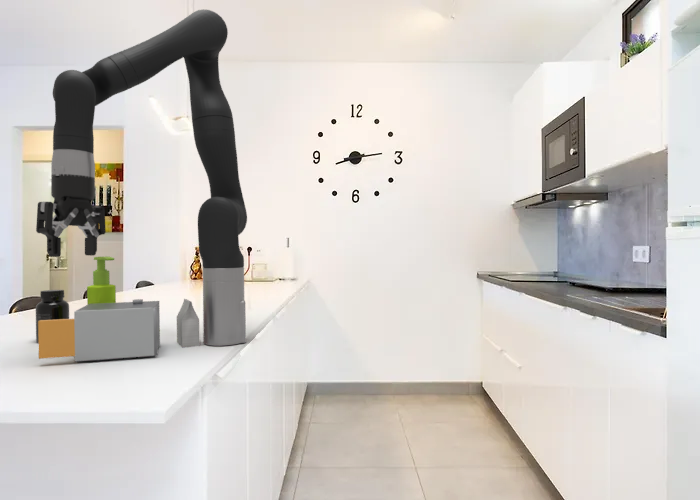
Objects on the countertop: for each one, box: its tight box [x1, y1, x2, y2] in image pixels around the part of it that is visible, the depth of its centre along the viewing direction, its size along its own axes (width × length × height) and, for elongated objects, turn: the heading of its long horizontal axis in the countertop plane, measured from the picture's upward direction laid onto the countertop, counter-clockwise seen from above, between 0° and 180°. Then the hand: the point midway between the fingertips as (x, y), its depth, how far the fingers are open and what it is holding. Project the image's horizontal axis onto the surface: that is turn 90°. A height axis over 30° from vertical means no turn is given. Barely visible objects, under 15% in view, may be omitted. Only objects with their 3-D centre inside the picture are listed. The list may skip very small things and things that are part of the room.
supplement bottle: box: [35, 289, 70, 343], centre depth 113 cm, size 7×7×12 cm
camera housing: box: [75, 298, 161, 363], centre depth 100 cm, size 14×13×11 cm
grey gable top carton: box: [176, 298, 200, 348], centre depth 108 cm, size 4×7×10 cm, turn 29°
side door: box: [38, 307, 159, 362], centre depth 92 cm, size 21×1×10 cm, turn 107°
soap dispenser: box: [86, 255, 117, 305], centre depth 110 cm, size 6×7×20 cm
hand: (73, 256), depth 95 cm, fingers open, 8 cm apart
